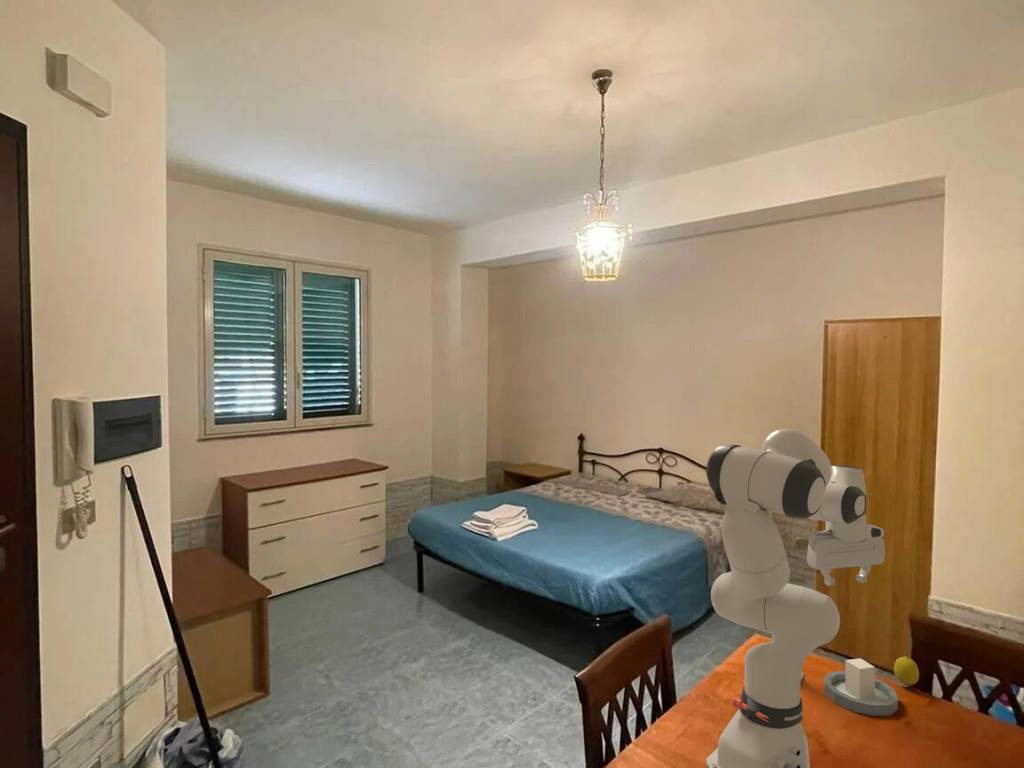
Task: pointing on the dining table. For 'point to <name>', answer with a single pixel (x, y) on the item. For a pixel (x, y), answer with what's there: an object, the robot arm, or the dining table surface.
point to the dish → (876, 706)
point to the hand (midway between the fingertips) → (845, 583)
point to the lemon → (906, 671)
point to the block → (860, 679)
